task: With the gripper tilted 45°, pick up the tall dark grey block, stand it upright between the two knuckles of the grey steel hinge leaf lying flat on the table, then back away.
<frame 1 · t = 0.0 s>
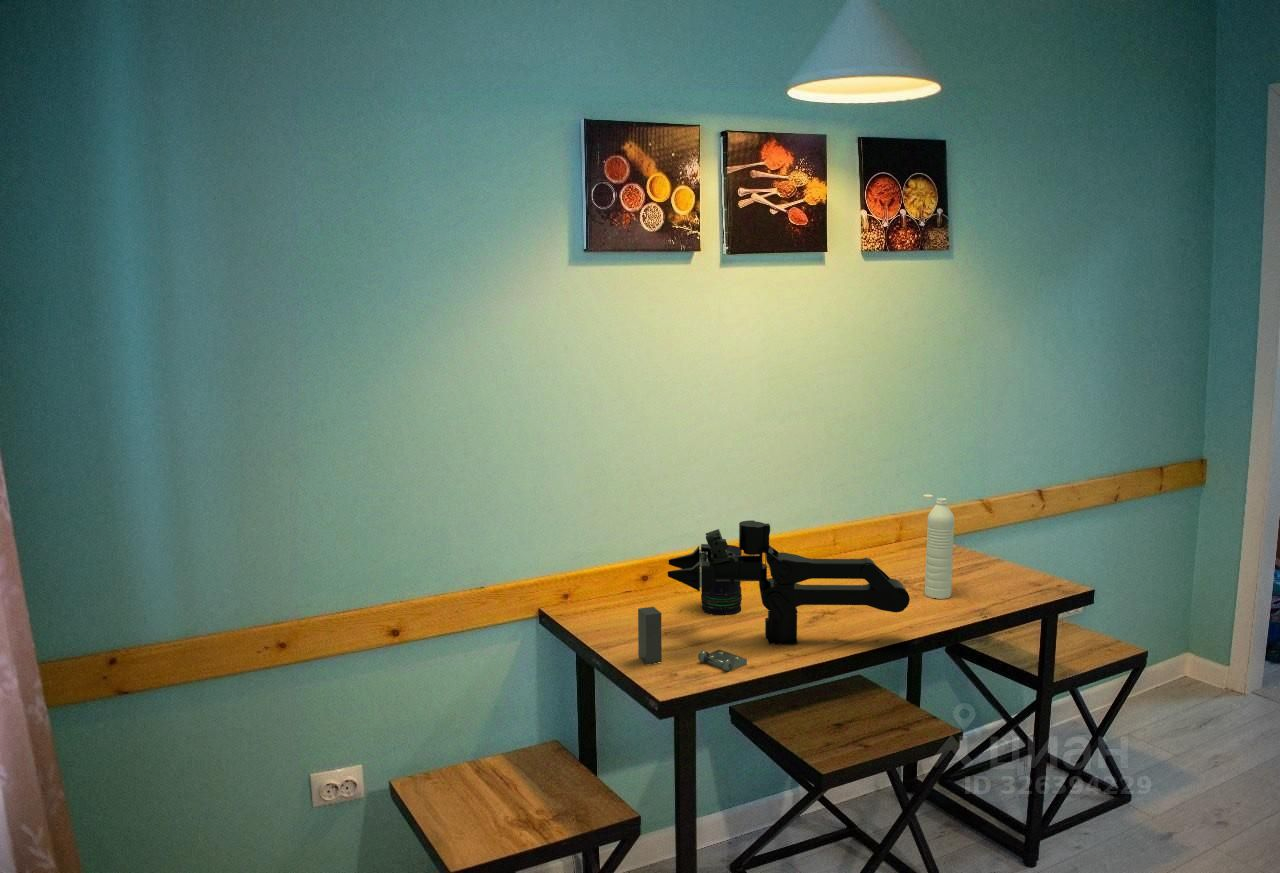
hand: (668, 567, 239), 17 cm above the table, tool horizontal, fingers open, 9 cm apart
dark grey block: (649, 660, 229), on the table
water bottle: (934, 595, 272), on the table
fixed hinge leaf: (706, 669, 223), on the table
storage jar: (721, 610, 262), on the table
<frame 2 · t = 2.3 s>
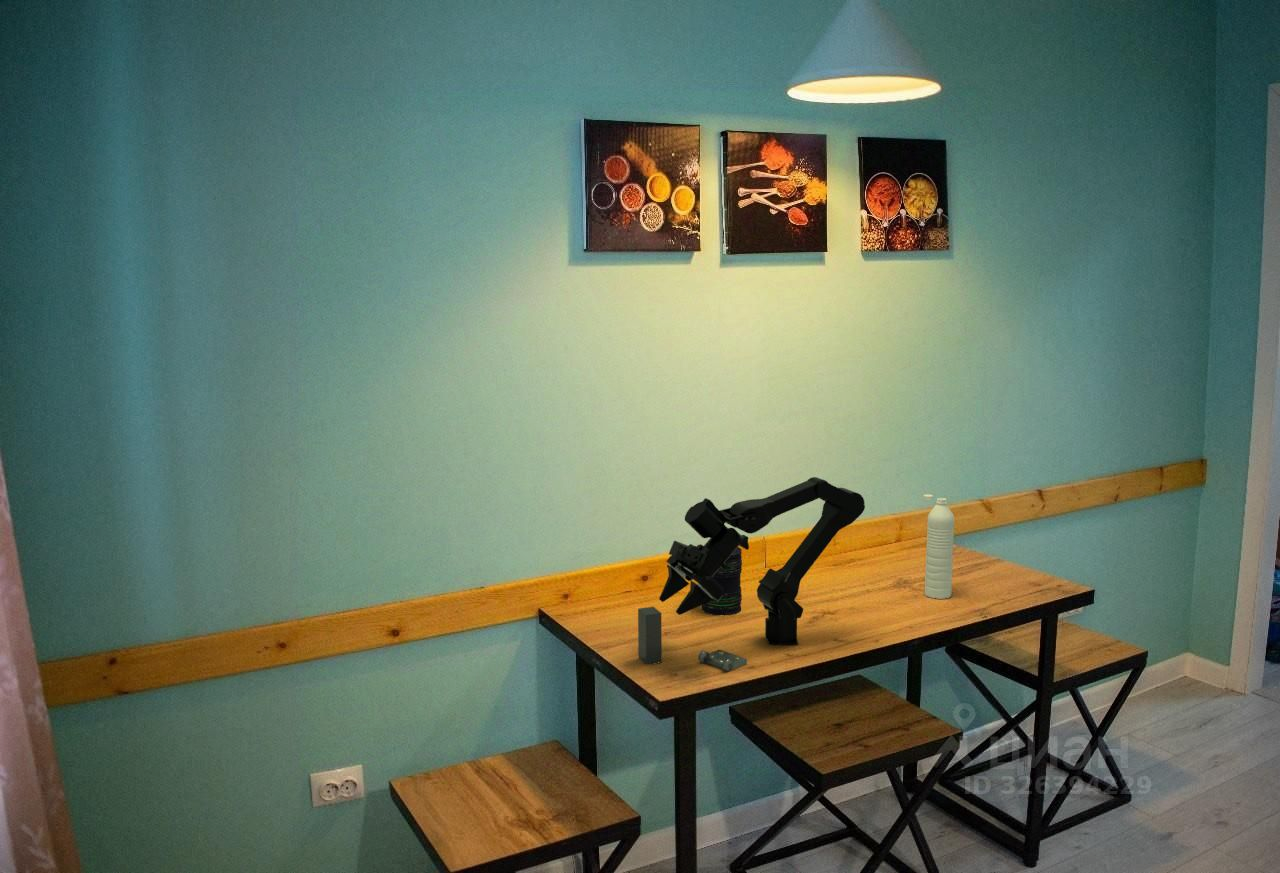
hand: (668, 606, 229), 11 cm above the table, tool tilted 45°, fingers open, 9 cm apart
nothing on the table moved.
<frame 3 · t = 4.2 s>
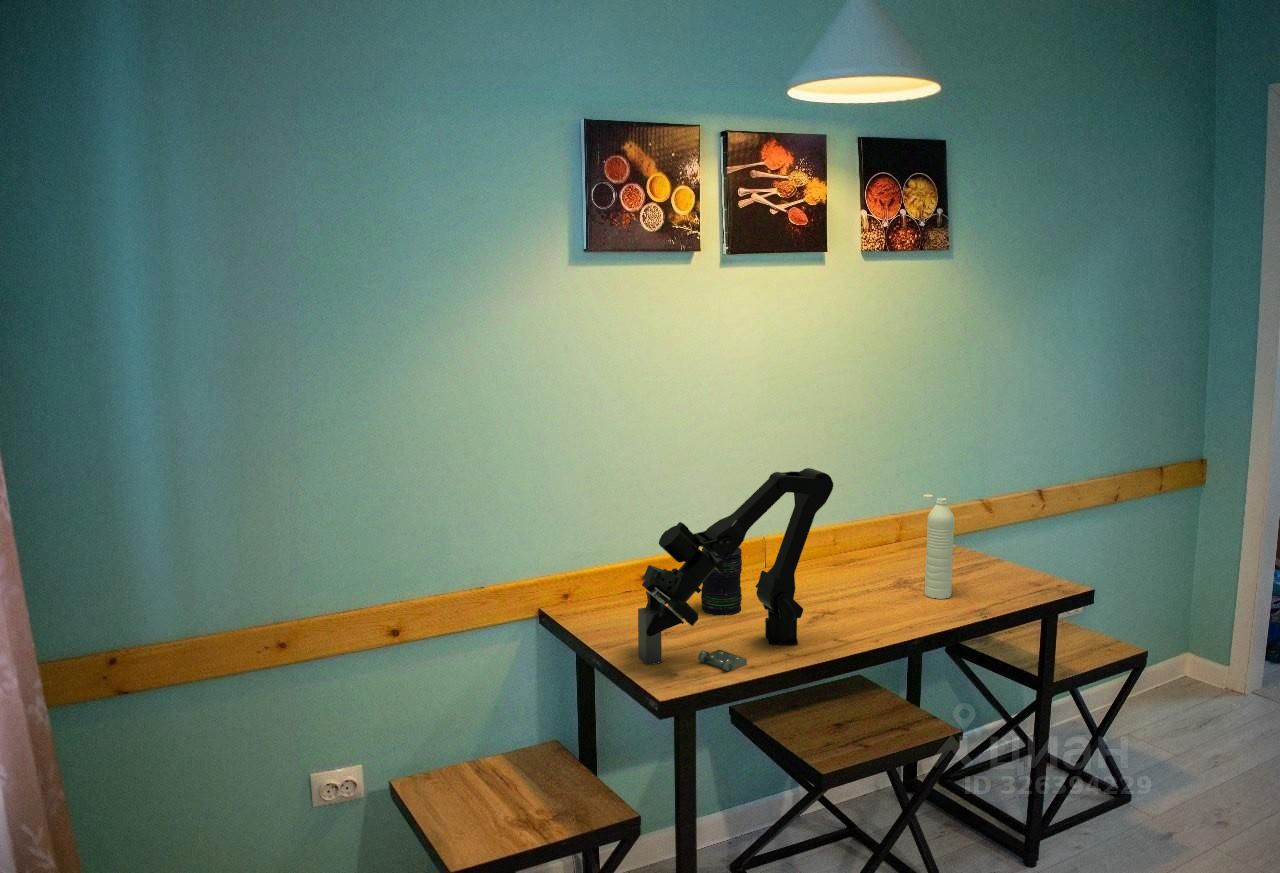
hand: (643, 631, 227), 7 cm above the table, tool tilted 45°, fingers closed on dark grey block, 4 cm apart
dark grey block: (649, 660, 229), on the table, touching gripper
everything else where it was.
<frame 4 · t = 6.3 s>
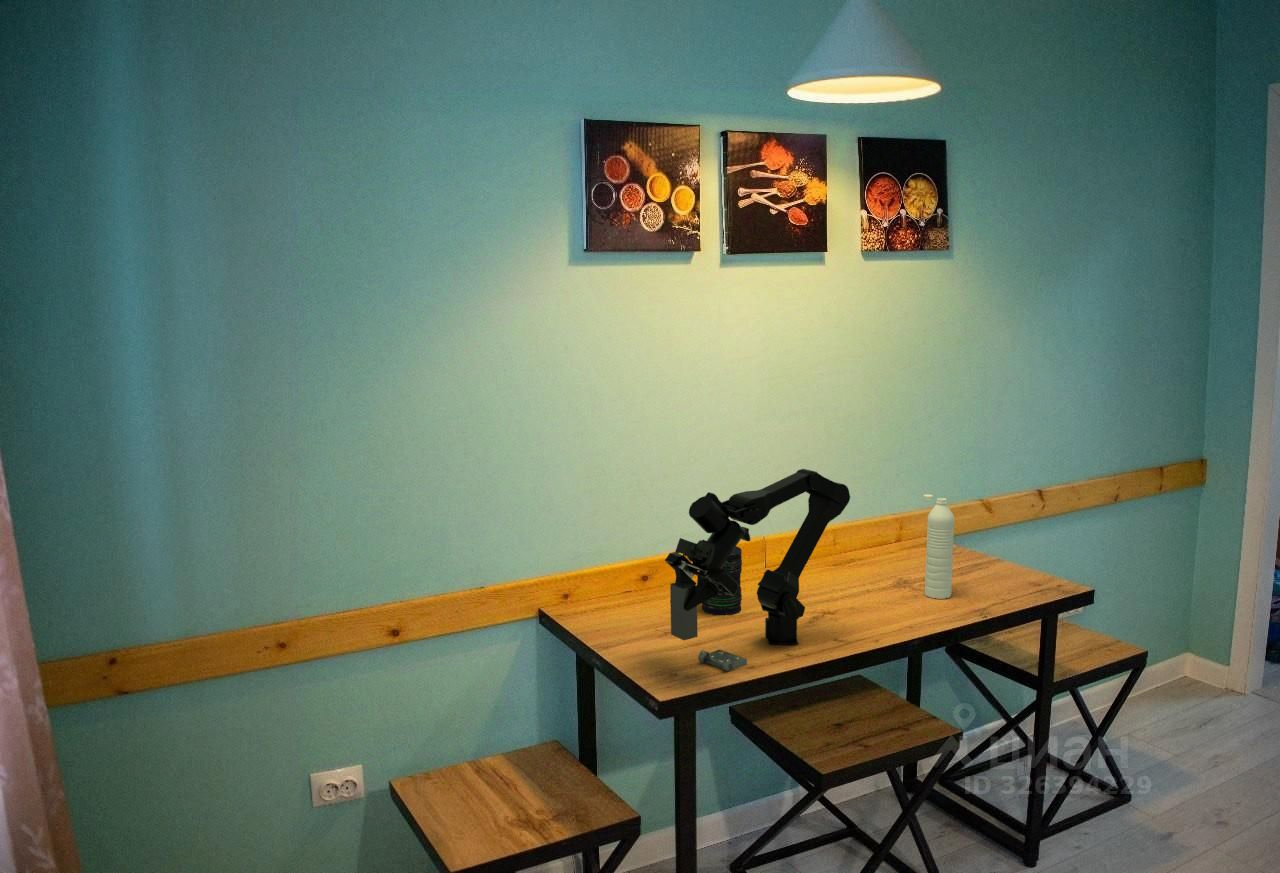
hand: (678, 606, 222), 13 cm above the table, tool tilted 45°, fingers closed on dark grey block, 4 cm apart
dark grey block: (684, 635, 224), point 7 cm above the table, touching gripper
everything else where it was.
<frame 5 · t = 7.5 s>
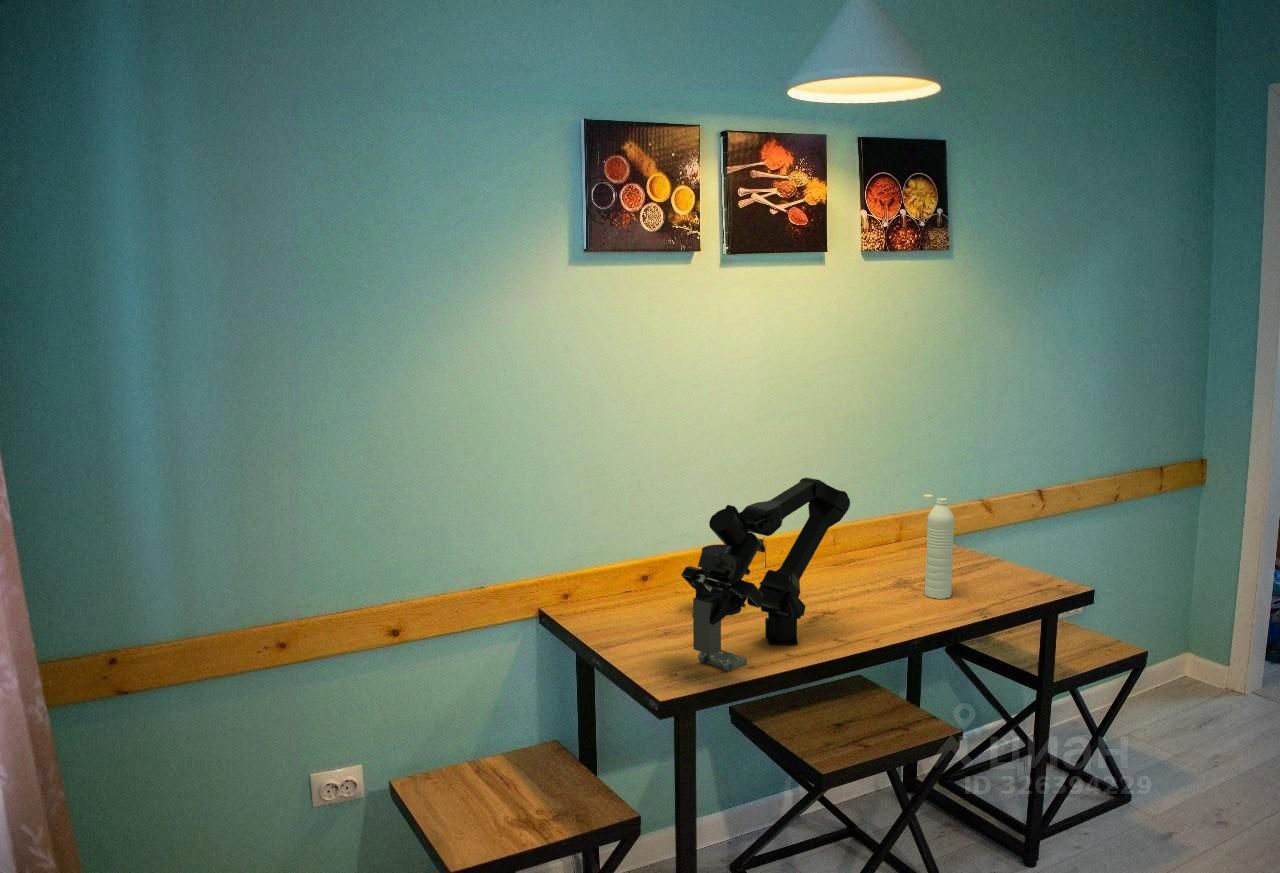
hand: (702, 621, 221), 11 cm above the table, tool tilted 45°, fingers closed on dark grey block, 4 cm apart
dark grey block: (707, 649, 223), point 4 cm above the table, touching gripper
everything else where it was.
when the fingers open (7 cm above the table, at t = 8.6 s): dark grey block stays where it is, on the table.
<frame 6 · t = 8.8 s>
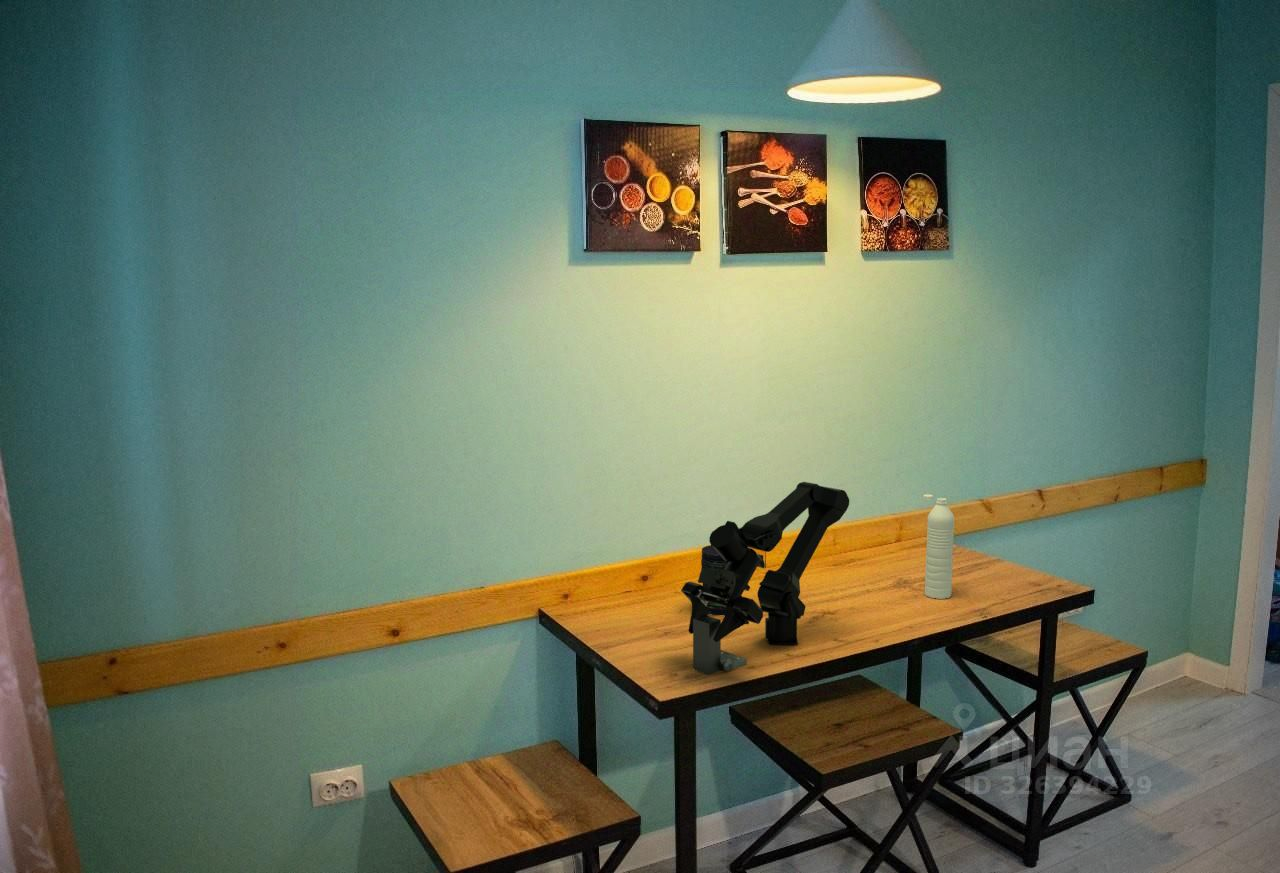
hand: (702, 636, 221), 8 cm above the table, tool tilted 45°, fingers open, 7 cm apart
dark grey block: (706, 670, 223), on the table
everything else where it was.
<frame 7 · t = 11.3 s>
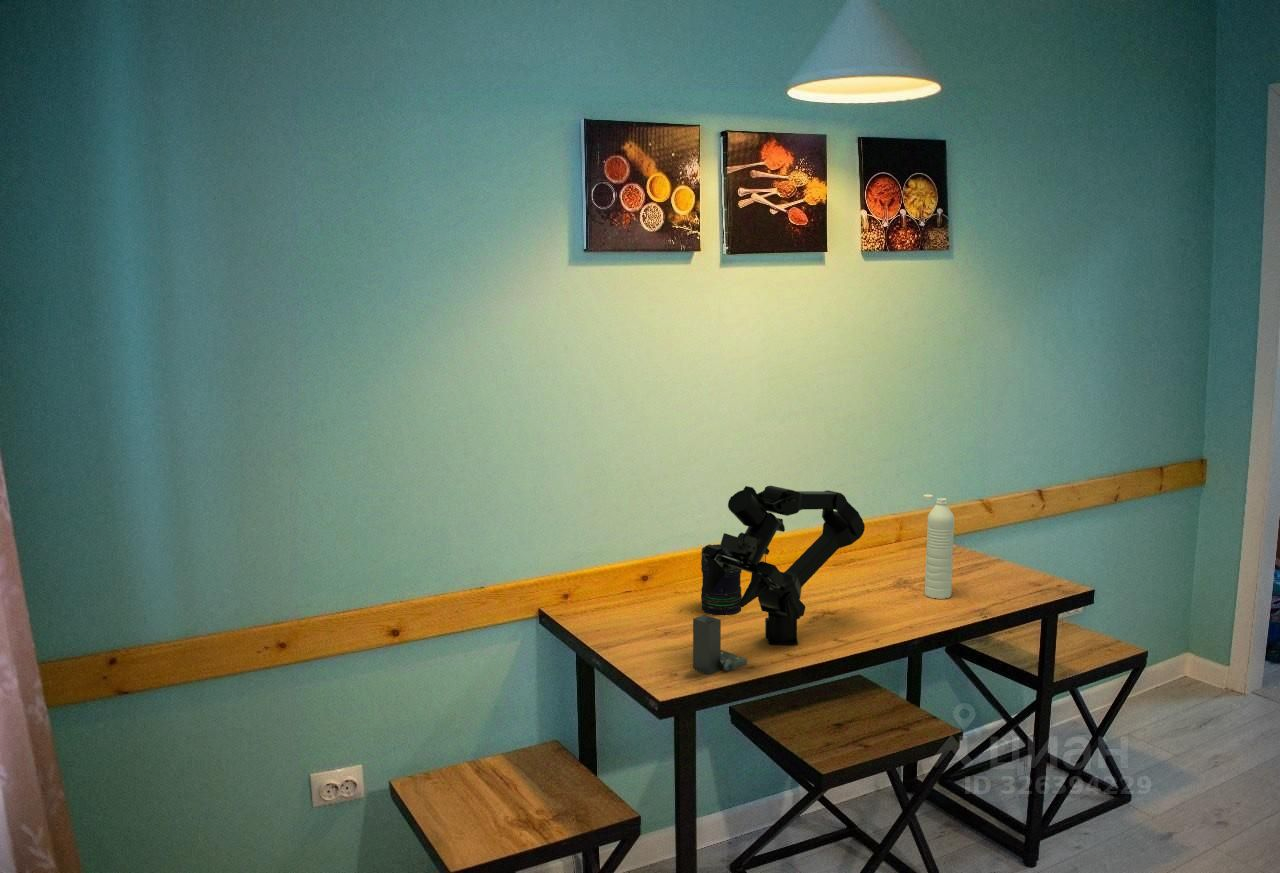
hand: (723, 600, 226), 14 cm above the table, tool tilted 40°, fingers open, 9 cm apart
nothing on the table moved.
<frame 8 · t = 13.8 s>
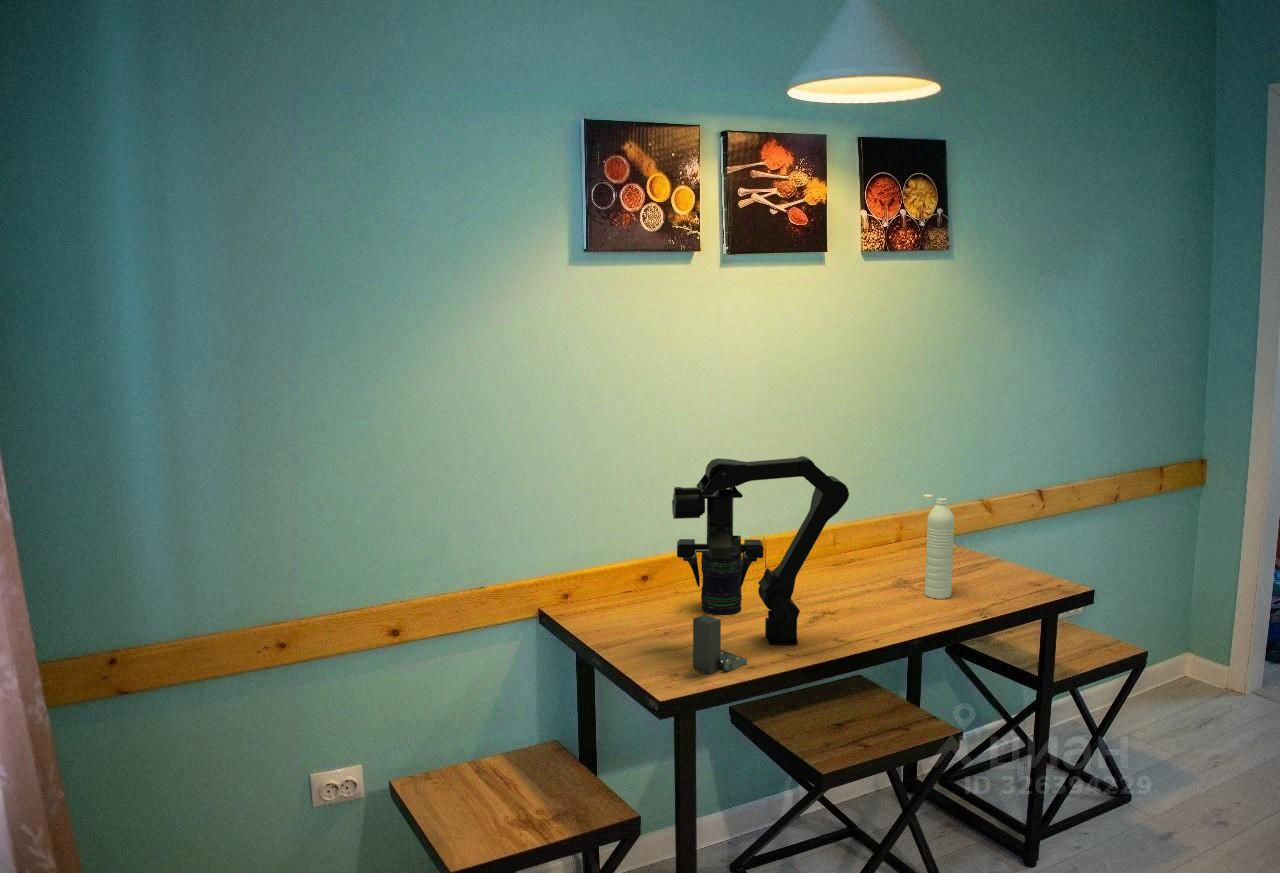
hand: (719, 586, 237), 13 cm above the table, tool pointing down, fingers open, 9 cm apart
nothing on the table moved.
at the end: dark grey block 0.0 cm from the fixed hinge leaf (horizontally); dark grey block tilted 0°; the gripper is holding nothing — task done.
